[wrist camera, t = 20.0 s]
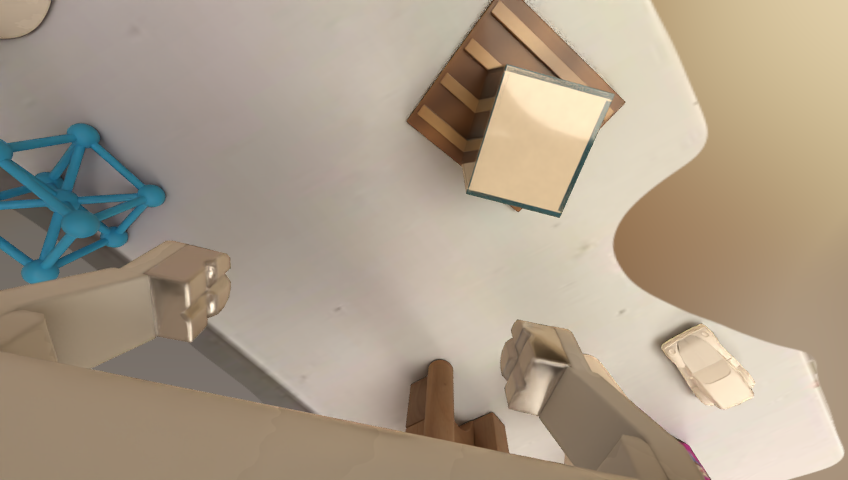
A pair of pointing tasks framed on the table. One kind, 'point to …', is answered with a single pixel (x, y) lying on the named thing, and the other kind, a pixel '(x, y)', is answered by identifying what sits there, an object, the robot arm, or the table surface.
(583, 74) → the drying rack
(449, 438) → the wooden toy
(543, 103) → the mirrored box
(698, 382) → the car
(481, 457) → the robot arm
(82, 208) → the molecular structure
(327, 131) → the table surface
